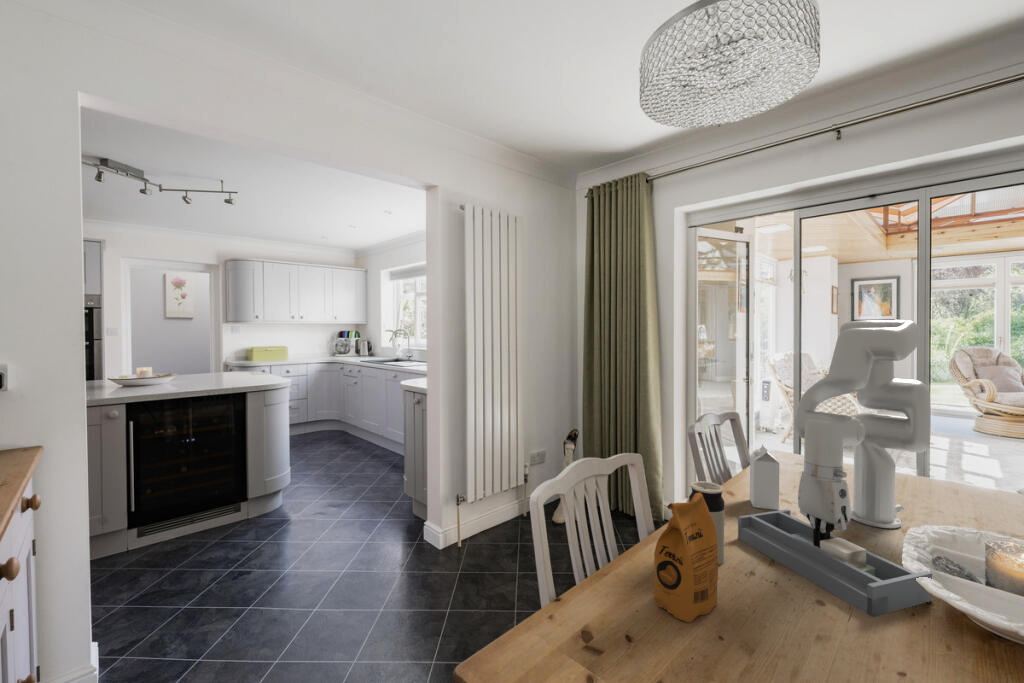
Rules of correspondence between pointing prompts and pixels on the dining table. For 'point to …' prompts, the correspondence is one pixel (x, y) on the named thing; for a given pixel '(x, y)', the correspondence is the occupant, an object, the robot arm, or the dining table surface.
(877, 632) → the dining table surface
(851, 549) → the block
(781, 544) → the box
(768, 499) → the milk carton
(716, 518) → the travel mug
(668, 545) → the coffee package
